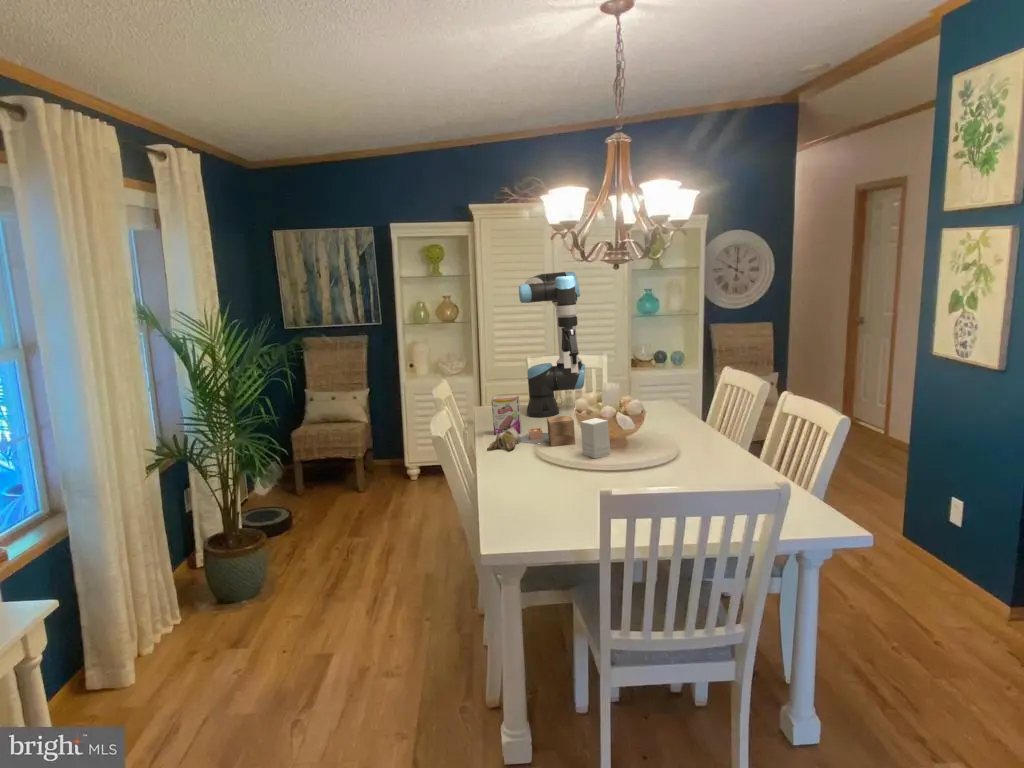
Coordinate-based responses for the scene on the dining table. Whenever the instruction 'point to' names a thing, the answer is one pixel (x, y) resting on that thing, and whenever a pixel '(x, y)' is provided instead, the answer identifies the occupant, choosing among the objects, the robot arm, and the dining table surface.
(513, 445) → the ceramic sculpture
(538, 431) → the dish
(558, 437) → the wooden block
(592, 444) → the supplement box
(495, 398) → the candy bar box
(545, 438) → the board
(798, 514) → the dining table surface
